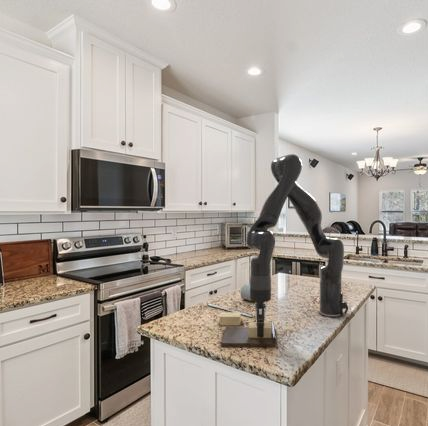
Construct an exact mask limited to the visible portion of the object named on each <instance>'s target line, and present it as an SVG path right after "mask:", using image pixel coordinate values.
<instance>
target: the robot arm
mask: <svg viewBox="0 0 428 426" xmlns="http://www.w3.org/2000/svg"><path fill="white" fill-rule="evenodd" d="M302 163H303V162H302V160H301V159H300V157H299V156H298V155H296V154H293V153H291V154H285V155H283V156H280V157H277V158H274V159H273V160H272V162H271V163H270V171H271V173H272V176H273V177H274V179H275V181H276V182H277V185H276V186H275V187H274V189H273V190H272V192H271V193H270V194H269V195H268V197H267V198H266V199H265V201H264V202H263V205H262V208H261V210H260V213H259V216H258V218H256V220H255V221H254V223H253V224H252V226H251V227H250V229H249V230H248V232H247V234H246V238H245V240H246V242H245V243H246V245H247V247H248V248H249V249H251V250H254V251H259V252H258V253H259V254H258V256H254V257H252V258H251V259H250V277H249V285H250V300H251V301H250V300H249V301H250V302H253V303H254V312H255V320H256V322H257V324H256V325H257V337H264V325H265V324H264V322H265V320H266V311H267V304H266V303H267V302H270V301H271V299H272V277H271V263H272V259H273V254H274V250H275V247H276V237H275V235H274V234H273V232H272V231H269V229H273V228H276V226H277V224H278V222H279V218H280V217H281V213H282V210H283V209H284V205H285V203H286V201H287V199H288V200H289V201H290V204H291V205H292V206H293V208H294V210H295V212H296V214H297V216H298V218H299V219H300V221H301V223H302V225H303V226H304V228H305V230H306V232H307V234H308V236H309V238H310V240H311V242H312V245H313V247H314V249H315V251H316V253H317V255H318V256H319V257H320V258H322V259H325V260H327V264H326V265H324V266H321V267H320V269H319V300H318V301H319V302H318V303H319V314H320V315H322V316H323V317H324V316H325V317H329V318H330V317H331V318H337V317H342V316H344V315H346V314H347V313H348V311H349V305H348V302H347V301H346V300H345V299H344V293H343V292H342V276H343V275H342V273H343V270H344V269H343V268H344V257H345V246H344V243H343V241H342V240H341V239H339V238H333V237H327V236H326V233H325V232H324V231H323V228H322V220H323V214H322V209H321V208H320V206H319V204H318V202H317V201H316V199H315V198H314V197H313V196H312V195H311V194H310V193H308V192H307V191H306V190H305V189H303V188H302V187H301V186H300V185H299V184H298V183H297V181H298V179H299V177H300V175H301V172H302V170H303V164H302ZM258 322H263V323H258Z"/></svg>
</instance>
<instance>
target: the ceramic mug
mask: <svg viewBox="0 0 428 426" xmlns="http://www.w3.org/2000/svg"><path fill="white" fill-rule="evenodd" d="M240 297H241V298H242V300H246V301H249V302H252V301H251V300H250V283H245V284H243V285H242V286H241V288H240Z"/></svg>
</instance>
